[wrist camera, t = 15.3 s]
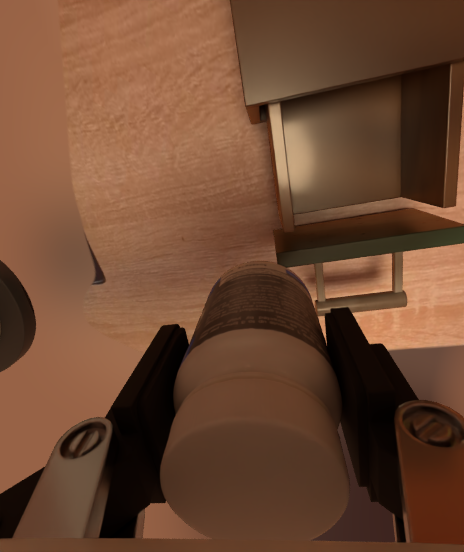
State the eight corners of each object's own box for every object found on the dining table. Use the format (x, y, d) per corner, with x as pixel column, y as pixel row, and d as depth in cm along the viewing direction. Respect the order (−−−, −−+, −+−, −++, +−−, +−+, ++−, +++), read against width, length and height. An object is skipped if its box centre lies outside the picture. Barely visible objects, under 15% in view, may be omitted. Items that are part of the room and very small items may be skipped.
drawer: (411, 280, 29) (461, 319, 22) (281, 296, 31) (287, 337, 24) (416, 43, 23) (488, -12, 16) (252, 81, 25) (248, 48, 17)
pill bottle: (194, 274, 14) (101, 423, 6) (298, 246, 13) (348, 380, 5) (226, 359, 15) (185, 569, 7) (321, 340, 14) (388, 557, 7)
